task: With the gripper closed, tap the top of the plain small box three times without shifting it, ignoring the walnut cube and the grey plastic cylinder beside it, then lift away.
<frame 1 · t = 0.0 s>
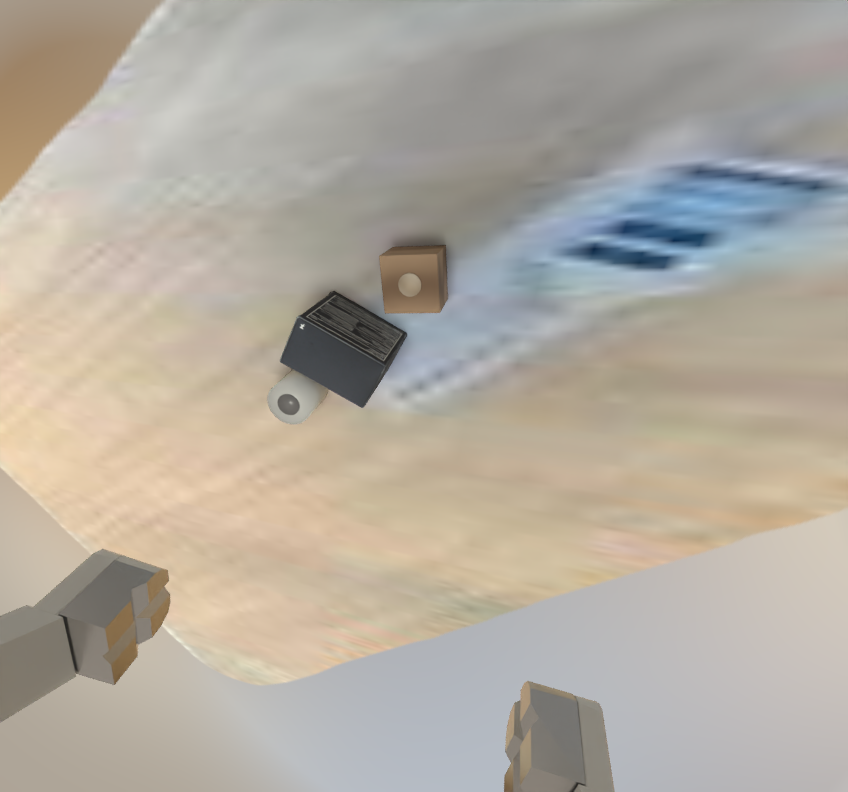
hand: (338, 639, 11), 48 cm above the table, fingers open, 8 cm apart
walnut cube: (420, 273, 55), on the table
small box: (360, 332, 60), on the table
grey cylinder: (308, 384, 64), on the table
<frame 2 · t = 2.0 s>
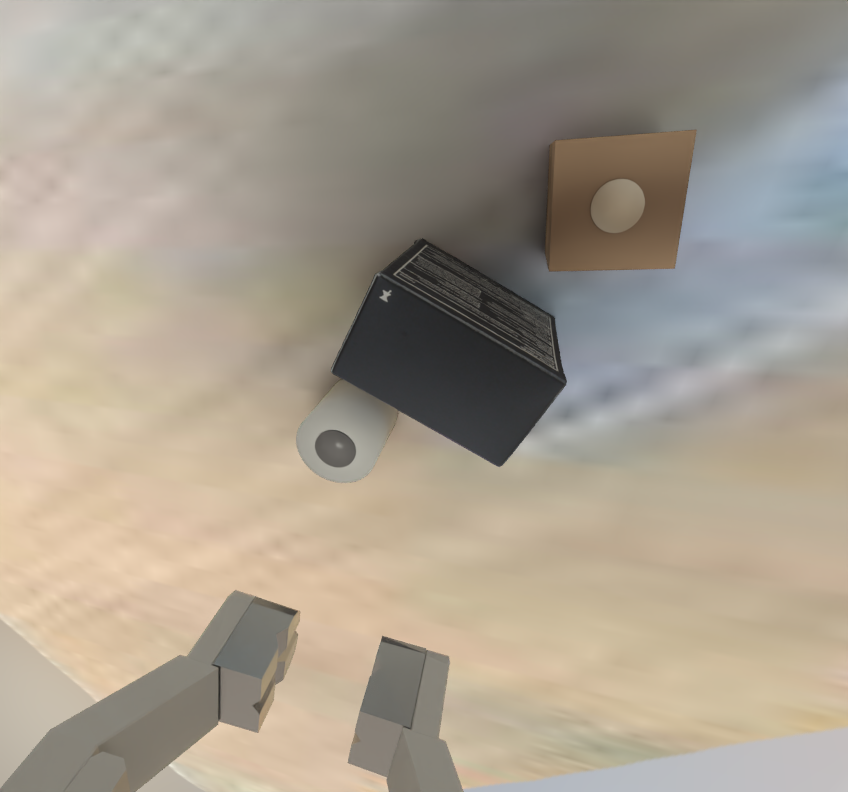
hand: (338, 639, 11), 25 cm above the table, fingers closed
walnut cube: (599, 198, 28), on the table
small box: (465, 317, 33), on the table
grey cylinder: (362, 408, 37), on the table
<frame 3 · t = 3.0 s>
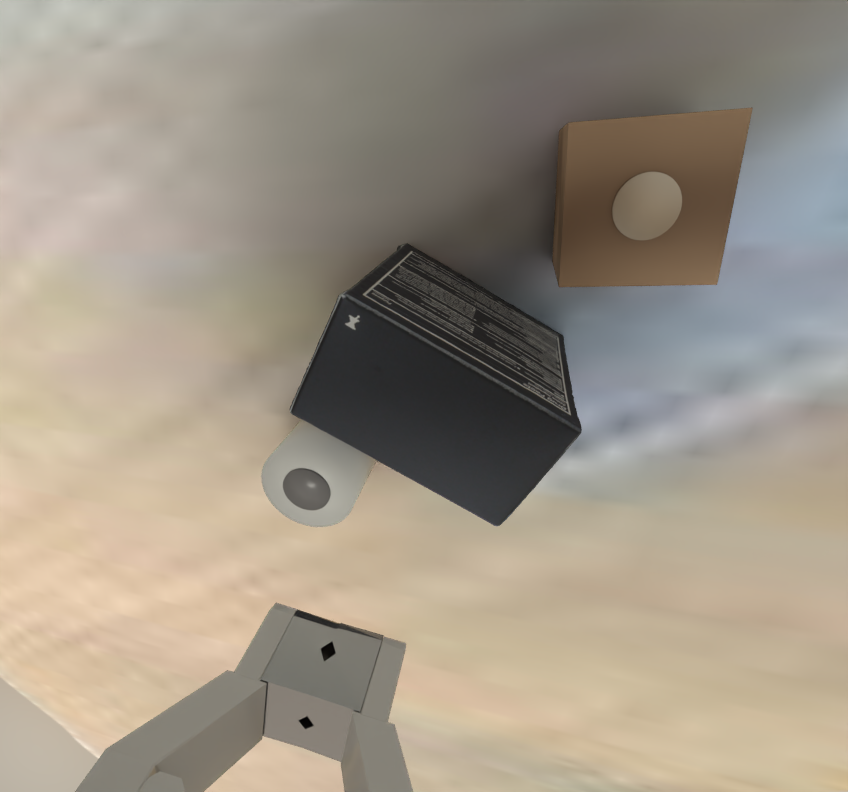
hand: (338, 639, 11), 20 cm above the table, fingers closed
walnut cube: (618, 195, 23), on the table
small box: (458, 334, 28), on the table
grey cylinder: (342, 435, 33), on the table
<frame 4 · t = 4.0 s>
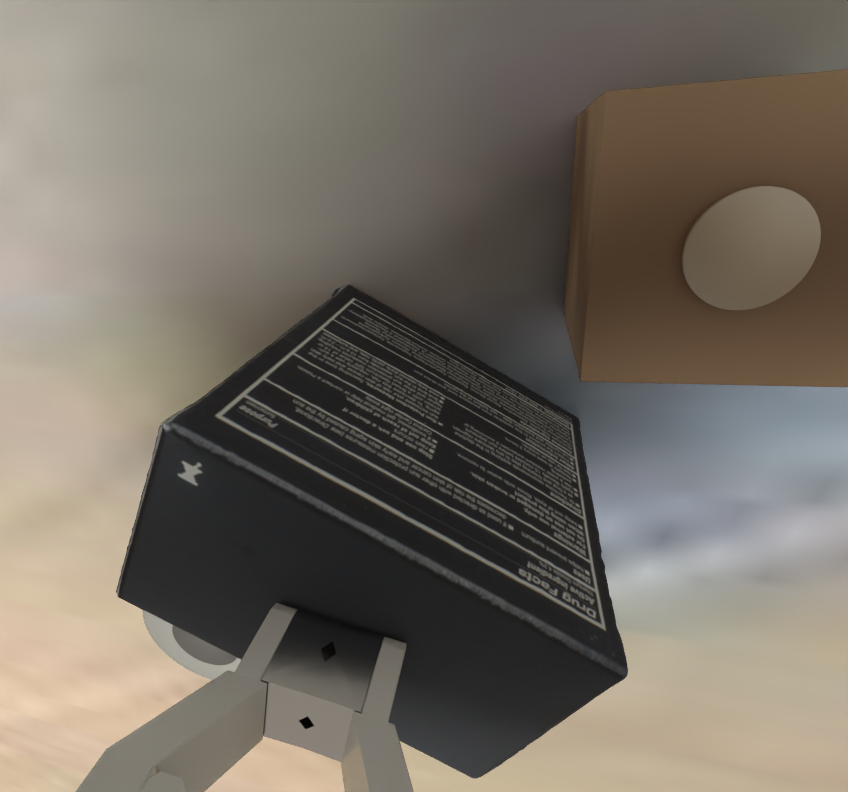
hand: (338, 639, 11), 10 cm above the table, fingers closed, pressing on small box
walnut cube: (669, 218, 15), on the table
small box: (428, 410, 20), on the table, touching gripper
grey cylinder: (277, 533, 24), on the table
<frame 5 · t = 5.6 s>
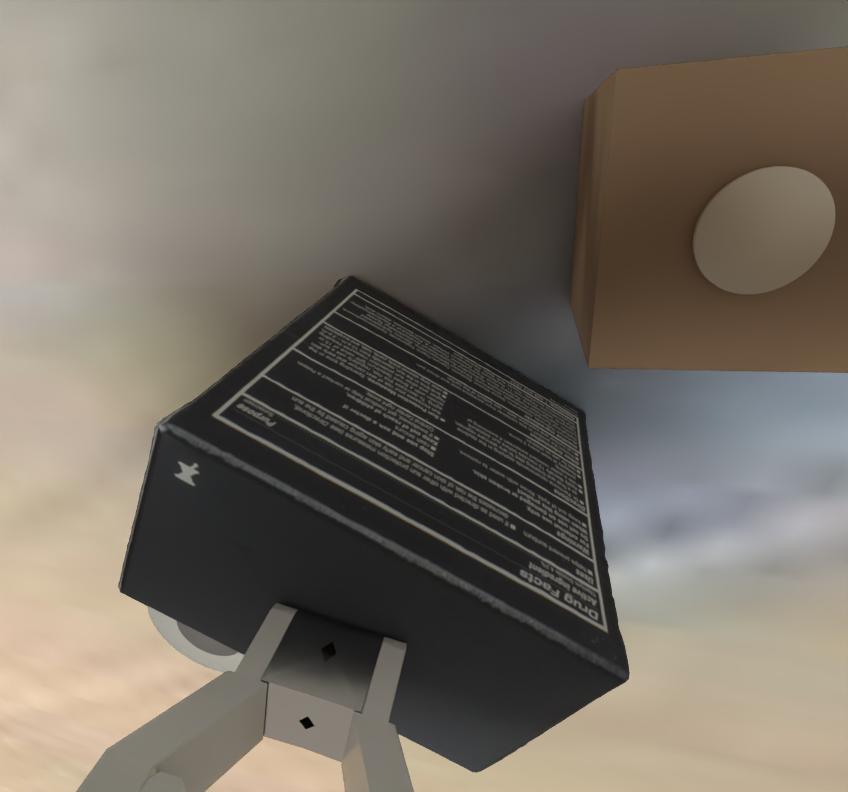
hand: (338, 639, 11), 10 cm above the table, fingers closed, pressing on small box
walnut cube: (677, 205, 15), on the table
small box: (432, 402, 20), on the table, touching gripper
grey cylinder: (281, 525, 24), on the table
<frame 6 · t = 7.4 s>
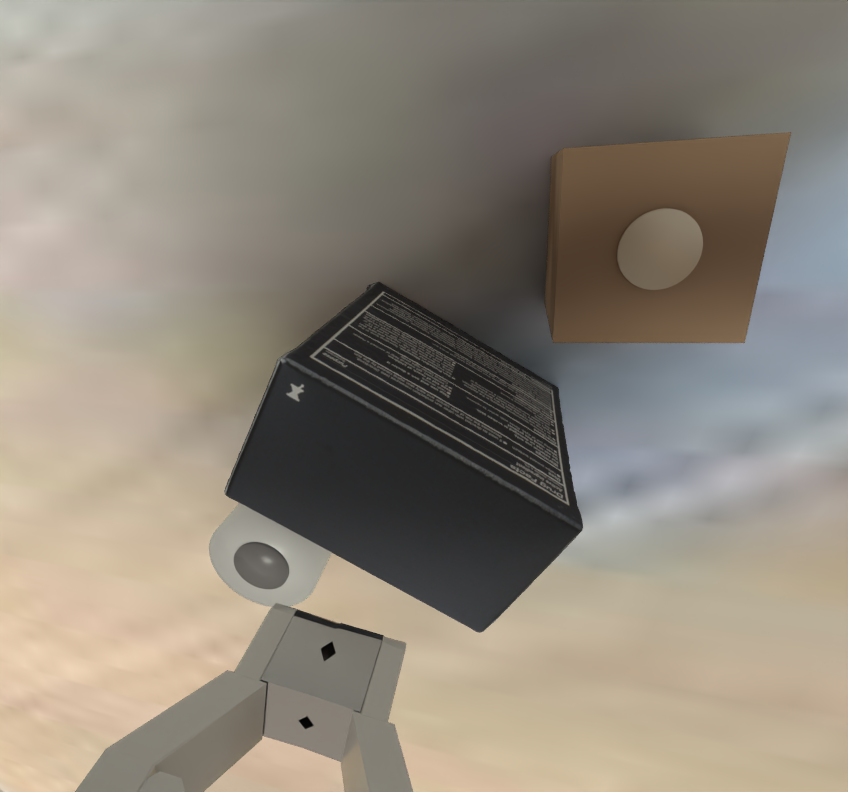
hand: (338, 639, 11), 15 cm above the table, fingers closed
walnut cube: (621, 231, 20), on the table
small box: (438, 383, 25), on the table
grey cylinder: (310, 492, 29), on the table
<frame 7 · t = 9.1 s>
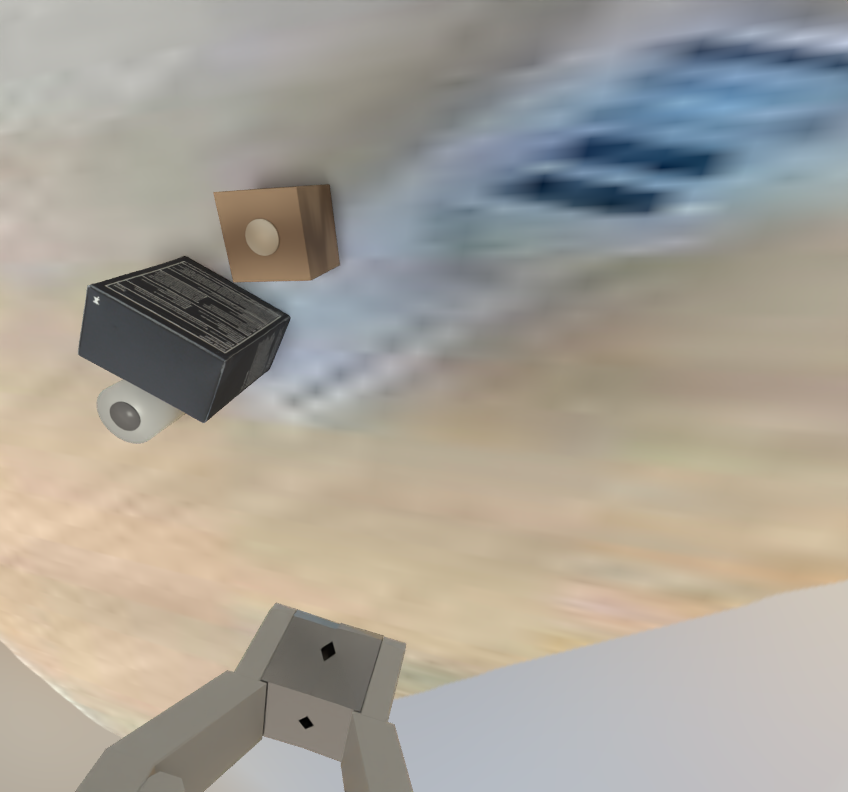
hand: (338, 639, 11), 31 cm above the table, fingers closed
walnut cube: (299, 227, 38), on the table
small box: (229, 315, 43), on the table
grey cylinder: (170, 387, 47), on the table
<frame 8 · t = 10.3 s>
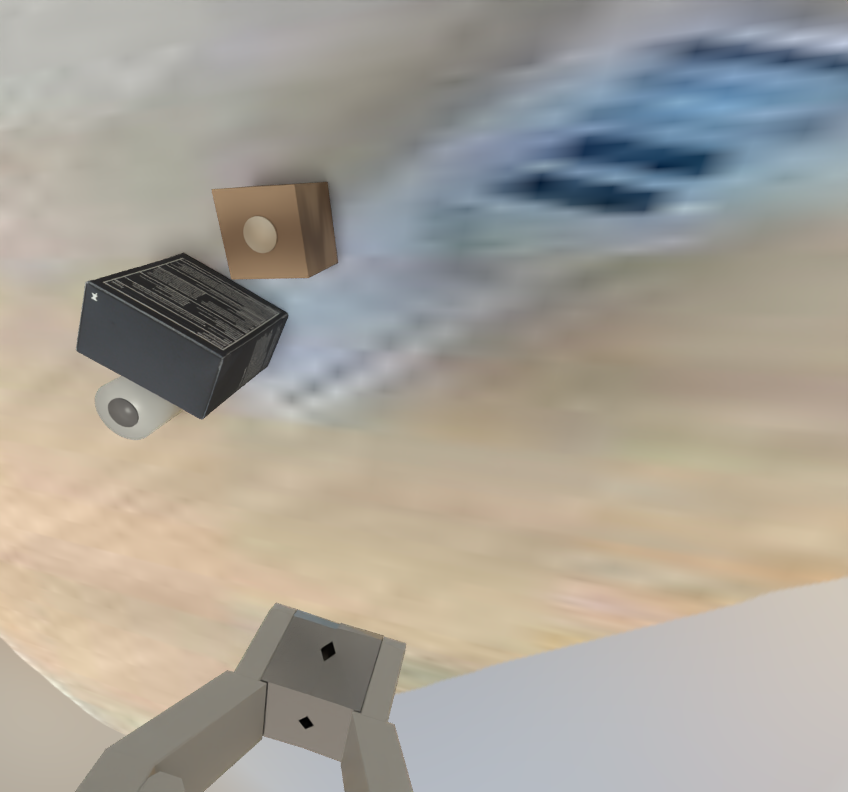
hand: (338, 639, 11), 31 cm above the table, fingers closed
walnut cube: (297, 225, 38), on the table
small box: (227, 312, 43), on the table
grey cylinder: (168, 384, 48), on the table
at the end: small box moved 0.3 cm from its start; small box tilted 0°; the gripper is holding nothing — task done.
